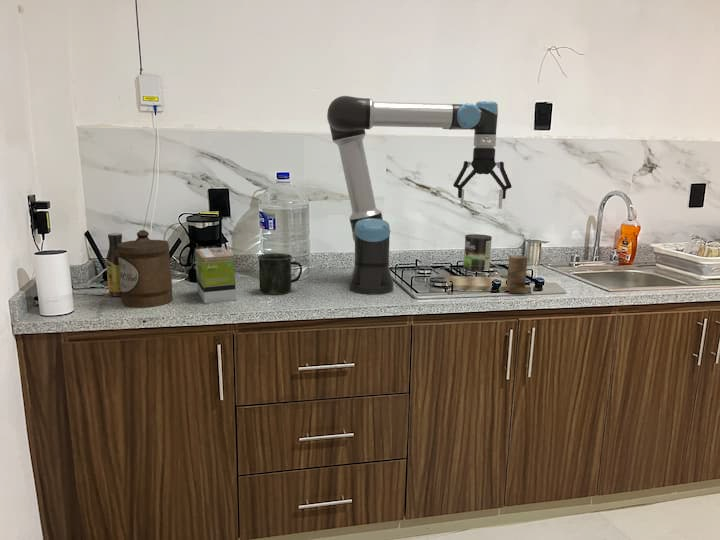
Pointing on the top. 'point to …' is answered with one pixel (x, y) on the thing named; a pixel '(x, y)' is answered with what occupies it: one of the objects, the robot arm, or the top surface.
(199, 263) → the tea box
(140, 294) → the wooden container
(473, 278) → the birch board
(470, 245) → the coffee can
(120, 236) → the sauce bottle
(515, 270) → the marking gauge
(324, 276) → the top surface
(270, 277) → the mug
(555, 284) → the top surface
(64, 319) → the top surface
